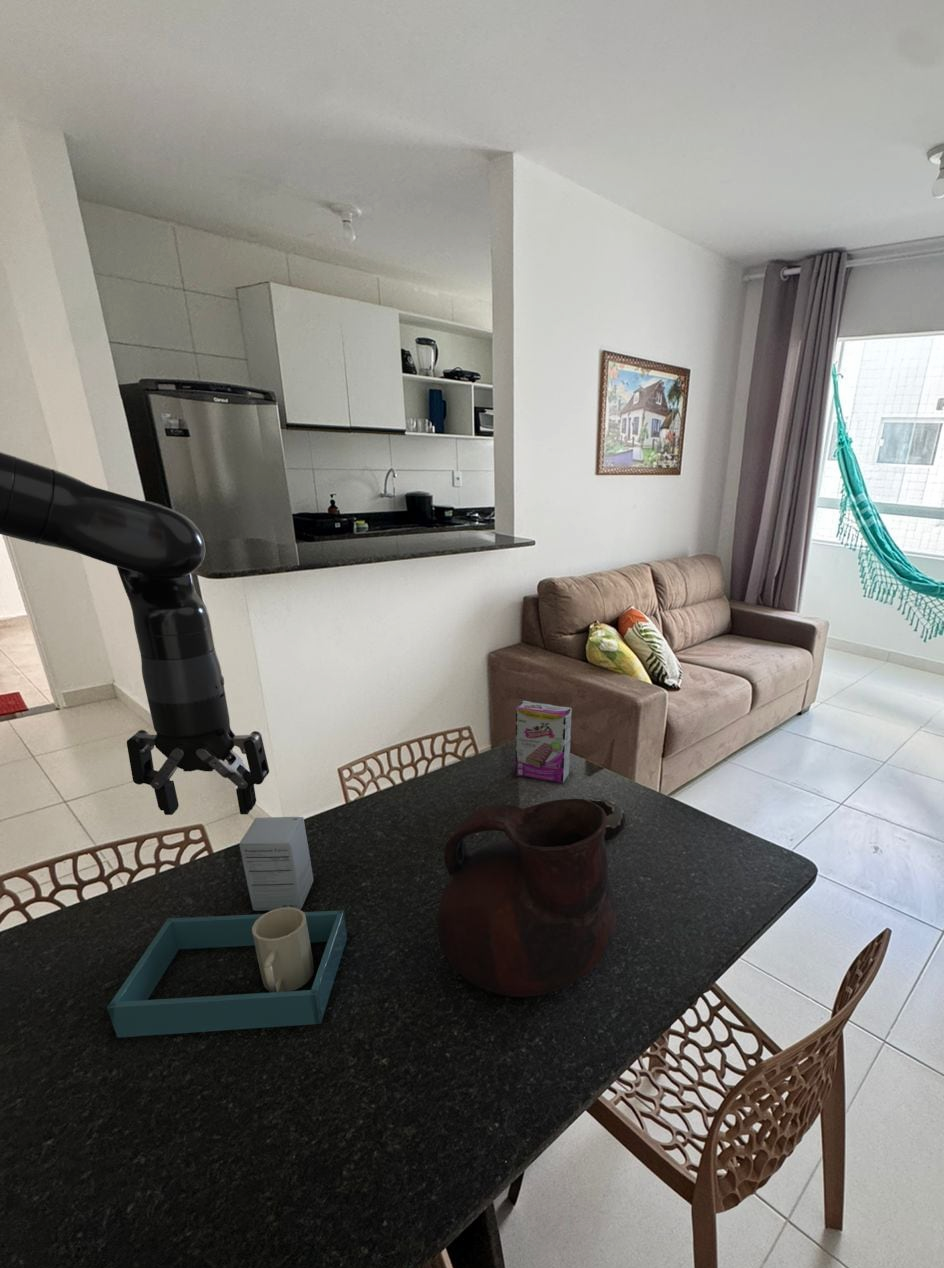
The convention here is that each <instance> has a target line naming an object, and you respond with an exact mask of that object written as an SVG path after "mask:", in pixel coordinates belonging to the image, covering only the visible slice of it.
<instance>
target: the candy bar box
mask: <svg viewBox="0 0 944 1268" xmlns="http://www.w3.org/2000/svg"><path fill="white" fill-rule="evenodd" d="M572 712H573V709H572V707H570V706H569V707H568V706H563V705H562V706H561V705H555V704H549V703H541V702H535V701H529V700H522V701H521V702H520V704H519V705H517V706H516V707H515V776H516V777H522V778H528V779H533V780H540V781H545V782H552V783H556V784H557V783H558V784H564V783H565V781H566V779H567V778H568V776H569V774H570V759H571V737H572V736H571V735H572V734H571V733H572Z"/></svg>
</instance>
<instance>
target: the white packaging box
mask: <svg viewBox="0 0 944 1268" xmlns="http://www.w3.org/2000/svg"><path fill="white" fill-rule="evenodd" d="M308 843H309V842H308V837H307V830H306V825H305V818H304V816H273V817H272V816H269V817H267V816H266V817H255V818H254V820H253V821H252V822H251V825H250V826H249V827H248V829H247V831H246V832H245V834H244V835H243V837H242V839H241V840H240V841H239V843H238V846H239V850H240V855H241V860H242V865H243V871H244V874H245V881H246V884H247V889H248V894H249V898H250V903H251V907H252V908H251V909H252V911H255V912H257V911H258V912H264V911H265V912H267V911H268V912H269V911H271V910H275V909H278V908H283V907H293V908H297V909H300V910H302V909H303V907H304V904H305V902H306V899H307V897H308V896H309V892H310V890H311V889H312V885H313V883H314V873H313V869H312V861H311V856H310V849H309V844H308Z"/></svg>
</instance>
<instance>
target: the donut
mask: <svg viewBox="0 0 944 1268" xmlns="http://www.w3.org/2000/svg"><path fill="white" fill-rule="evenodd" d="M583 799H584V800H588V801H590V802H592V803H594V804H596V805H598V806H599V807H601V808H602V809H603V810H604V811H605V813H606V816H607V825H606V829H605V834H604V841H605V840H608V839H612V838H613V837H616V836H617V835H619V834H620V833H621V832H622V831H623V829H624V827H625V825H626V822H627V821H626V820H627V819H626V813H625V811H624V810H623V808H622V807H621V806H620V805H618V804H617V803H616V802H614V801H612V800H610V799H606V798H603V797H585V798H583Z"/></svg>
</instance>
